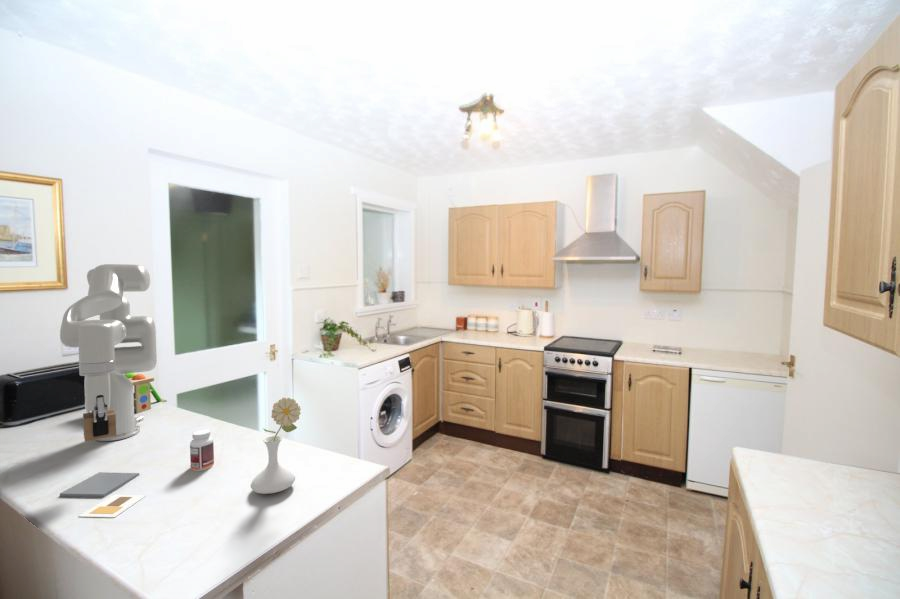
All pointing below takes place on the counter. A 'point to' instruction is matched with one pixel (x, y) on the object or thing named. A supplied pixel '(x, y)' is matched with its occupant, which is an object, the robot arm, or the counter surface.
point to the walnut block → (88, 425)
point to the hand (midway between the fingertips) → (99, 431)
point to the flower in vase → (274, 474)
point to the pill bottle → (201, 450)
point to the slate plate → (99, 485)
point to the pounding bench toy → (143, 391)
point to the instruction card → (112, 506)
